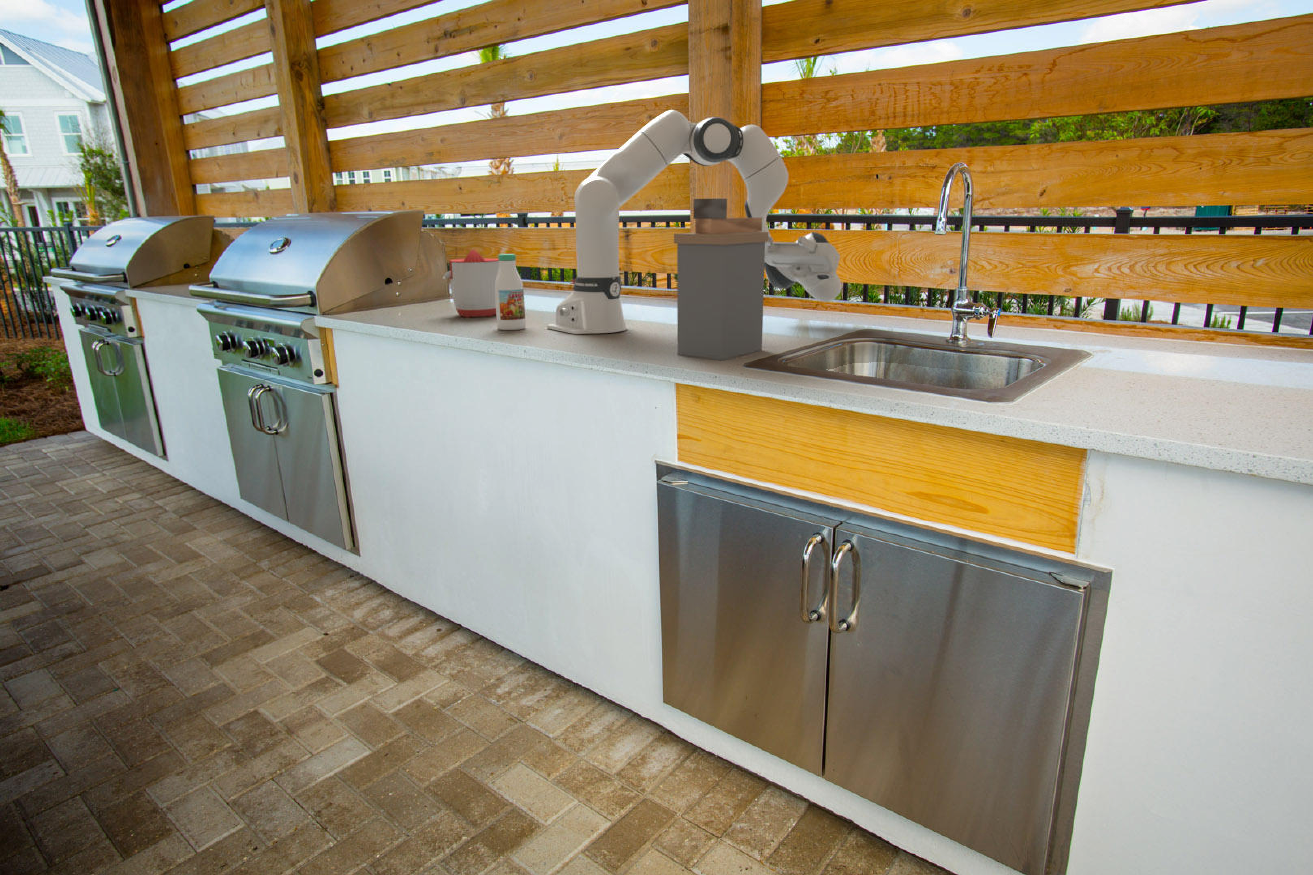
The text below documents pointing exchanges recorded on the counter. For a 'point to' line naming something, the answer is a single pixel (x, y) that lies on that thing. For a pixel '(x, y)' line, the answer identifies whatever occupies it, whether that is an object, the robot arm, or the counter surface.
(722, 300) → the cabinet
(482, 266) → the citrus juicer
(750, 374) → the counter surface
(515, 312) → the milk bottle
